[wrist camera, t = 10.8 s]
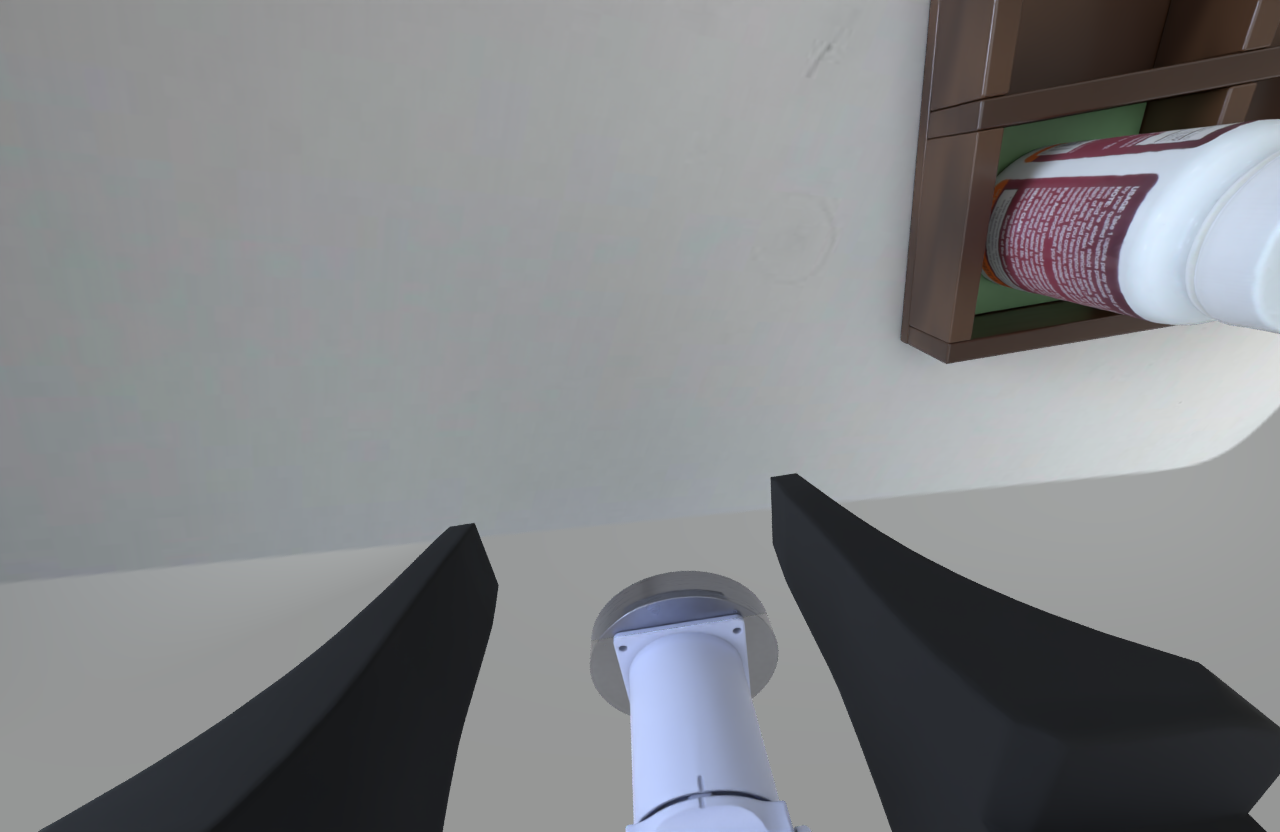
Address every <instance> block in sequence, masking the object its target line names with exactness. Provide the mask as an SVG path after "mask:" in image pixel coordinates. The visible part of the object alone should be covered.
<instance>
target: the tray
mask: <svg viewBox="0 0 1280 832" xmlns="http://www.w3.org/2000/svg"><path fill="white" fill-rule="evenodd" d="M1262 119H1280V0H931V4H930V15H929V27H928V38H927V49H926V60H925V71H924V83H923V94H922V105H921V116H920V128H919V139H918V150H917V161H916V173H915V184H914V195H913V206H912V218H911V229H910V240H909V251H908V263H907V274H906V285H905V296H904V308H903V319H902V330H901V341H903V342H904V343H906V344H909V345H911V346H913V347H915V348H917V349H919V350H920V351H922V352H924V353H926V354H928V355H930V356H932V357H934V358H936V359H938V360H940V361H942V362H943V363H946V364H949V363H955V362H961V361H967V360H973V359H979V358H985V357H990V356H996V355H1002V354H1008V353H1014V352H1020V351H1026V350H1032V349H1038V348H1044V347H1050V346H1056V345H1062V344H1068V343H1074V342H1080V341H1086V340H1092V339H1098V338H1104V337H1109V336H1115V335H1121V334H1127V333H1133V332H1139V331H1145V330H1151V329H1157V328H1163V327H1169V326H1175V325H1170V324H1161V323H1154V322H1149V321H1145V320H1141V319H1139V318H1134V317H1130V316H1128V315H1123V314H1119V313H1115V312H1111V311H1106V310H1102V309H1098V308H1094V307H1089V306H1085V305H1081V304H1077V303H1073V302H1069V301H1064V300H1060V299H1055V298H1052V297H1049V296H1044V295H1040V294H1036V293H1029V292H1025V291H1021V290H1017V289H1014V288H1009V287H1005V286H1001V285H998V284H996V283H993V282H992V281H990V280H988V279H987V278H985V277H984V276H983V275H982V274H981V272H982V265H983V259H984V253H985V246H986V240H987V234H988V227H989V221H990V215H991V208H992V202H993V196H994V189H995V183H996V177H997V176H998V175H999V174H1000V173H1001V172H1002V171H1003V170H1004V169H1005V168H1007V167H1008V166H1009V165H1010V164H1012V163H1013V162H1014V161H1016V160H1017V159H1019V158H1020V157H1022V156H1023V155H1025V154H1027V153H1029V152H1031V151H1033V150H1036V149H1039V148H1042V147H1045V146H1049V145H1054V144H1063V143H1070V142H1077V141H1087V140H1096V139H1105V138H1113V137H1121V136H1130V135H1138V134H1147V133H1156V132H1163V131H1172V130H1182V129H1191V128H1199V127H1208V126H1216V125H1224V124H1233V123H1241V122H1247V121H1251V120H1262Z"/></svg>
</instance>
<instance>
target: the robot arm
mask: <svg viewBox="0 0 1280 832" xmlns="http://www.w3.org/2000/svg"><path fill="white" fill-rule="evenodd" d="M771 504H772V532H773V533H772V535H773V546H774V549H775V551H776V554H777V557H778V560H779V563H780V566H781V569H782V571H783V574H784V577H785V579H786V582H787V584H788V586H789V588H790V590H791V593H792V594H793V597H794V599H795V601H796V602H797V605H798V607H799V609H800V611H801V613H802V615H803V617H804V619H805V621H806V623H807V625H808V627H809V629H810V631H811V633H812V635H813V637H814V639H815V641H816V643H817V645H818V647H819V649H820V651H821V653H822V655H823V657H824V659H825V661H826V663H827V665H828V666H829V669H830V671H831V673H832V675H833V678H834V680H835V682H836V684H837V686H838V689H839V691H840V694H841V696H842V699H843V701H844V704H845V706H846V709H847V711H848V714H849V717H850V719H851V722H852V724H853V727H854V729H855V732H856V735H857V737H858V740H859V742H860V745H861V748H862V750H863V753H864V756H865V759H866V761H867V764H868V767H869V769H870V772H871V775H872V777H873V780H874V783H875V785H876V788H877V791H878V793H879V796H880V799H881V802H882V805H883V807H884V810H885V813H886V816H887V819H888V822H889V824H890V827H891V830H892V832H1266V831H1265V830H1264V829H1263V828H1262V827H1261V826H1260V825H1259V824H1258V823H1257V822H1256V821H1255V820H1254V819H1253V818H1252V817H1251V816H1250V815H1249V814H1248V813H1249V811H1250V810H1251V809H1252V808H1253V806H1254V805H1255V804H1256V802H1258V800H1259V799H1260V798H1261V797H1262V795H1263V794H1264V793H1265V792H1266V790H1267V789H1268V788H1269V787H1270V786H1271V784H1272V783H1273V782H1274V781H1275V779H1276V778H1277V777H1278V776H1279V774H1280V727H1279V726H1278V725H1276V724H1275V723H1274V722H1273V721H1271V720H1270V719H1269V718H1268V717H1266V716H1265V715H1264V714H1263V713H1261V712H1260V711H1259V710H1258V709H1256V708H1255V707H1254V706H1253V705H1251V704H1250V703H1249V702H1248V701H1247V700H1245V699H1244V698H1243V697H1242V696H1240V695H1239V694H1238V693H1237V692H1235V691H1234V690H1233V689H1232V688H1230V687H1229V686H1228V685H1227V684H1225V683H1224V682H1223V681H1222V680H1220V679H1219V678H1218V677H1217V676H1215V675H1214V674H1213V673H1211V672H1210V671H1209V670H1208V669H1206V668H1205V667H1204V666H1203V665H1201V664H1200V663H1198V662H1195V661H1192V660H1189V659H1186V658H1182V657H1179V656H1176V655H1173V654H1170V653H1166V652H1163V651H1160V650H1157V649H1154V648H1150V647H1147V646H1144V645H1141V644H1137V643H1135V642H1131V641H1128V640H1125V639H1122V638H1119V637H1115V636H1112V635H1109V634H1106V633H1103V632H1100V631H1097V630H1094V629H1092V628H1089V627H1086V626H1083V625H1080V624H1078V623H1075V622H1072V621H1070V620H1067V619H1064V618H1061V617H1058V616H1056V615H1053V614H1050V613H1048V612H1045V611H1043V610H1040V609H1037V608H1035V607H1032V606H1030V605H1027V604H1025V603H1022V602H1020V601H1017V600H1015V599H1013V598H1010V597H1008V596H1006V595H1003V594H1001V593H999V592H996V591H994V590H992V589H989V588H987V587H985V586H982V585H980V584H978V583H976V582H974V581H972V580H969V579H967V578H965V577H963V576H961V575H959V574H957V573H955V572H953V571H951V570H949V569H947V568H945V567H943V566H941V565H939V564H937V563H935V562H933V561H931V560H929V559H927V558H925V557H923V556H922V555H920V554H918V553H916V552H914V551H912V550H911V549H909V548H907V547H905V546H903V545H902V544H900V543H899V542H897V541H895V540H894V539H892V538H890V537H889V536H887V535H885V534H883V533H882V532H880V531H878V530H877V529H876V528H874V527H872V526H871V525H869V524H868V523H866V522H865V521H863V520H862V519H860V518H858V517H857V516H856V515H854V514H853V513H851V512H850V511H848V510H847V509H845V508H844V507H842V506H841V505H839V504H838V503H837V502H835V501H834V500H832V499H831V498H830V497H828V496H827V495H825V494H824V493H823V492H821V491H820V490H819V489H817V488H816V487H814V486H813V485H812V484H810V483H809V482H808V481H806V480H805V479H803V478H802V477H801V476H799V475H798V474H796V473H795V474H789V475H782V476H776V477H771ZM497 592H498V583H497V580H496V578H495V575H494V572H493V570H492V567H491V564H490V562H489V559H488V557H487V554H486V552H485V549H484V546H483V544H482V541H481V539H480V536H479V533H478V531H477V528H476V525H475V523H471V524H465V525H458V526H452V527H449V528H448V529H447V530H446V531H445V532H443V533H442V534H441V535H440V536H439V537H438V538H437V539H436V540H435V541H434V542H433V543H432V544H431V545H430V546H429V547H428V548H427V549H426V550H425V551H424V552H423V553H422V554H421V555H420V556H419V557H418V558H417V559H416V560H415V561H414V562H413V563H412V564H411V565H410V566H409V567H408V568H407V569H406V570H405V571H404V572H403V573H402V574H401V575H400V576H399V577H398V578H397V579H396V580H395V581H394V582H393V583H391V584H390V585H389V586H388V587H387V588H386V589H385V590H384V591H383V592H382V593H381V594H380V595H379V596H378V597H377V598H376V599H375V600H373V601H372V602H371V603H370V604H369V605H368V606H367V607H366V608H365V609H364V610H362V611H361V612H360V613H359V614H358V615H357V616H356V617H355V618H354V619H353V620H352V621H350V622H349V623H348V624H347V625H346V626H345V627H344V628H343V629H342V630H340V631H339V632H338V633H337V634H336V635H335V636H334V637H332V638H331V639H330V640H329V641H327V642H326V643H325V644H324V645H323V646H321V647H320V648H319V649H318V650H316V651H315V652H314V653H313V654H311V655H310V656H309V657H308V658H306V659H305V660H304V661H303V662H301V663H300V664H299V665H298V666H296V667H295V668H294V669H293V670H291V671H290V672H289V673H287V674H286V675H285V676H283V677H282V678H281V679H279V680H278V681H276V682H275V683H274V684H272V685H271V686H270V687H268V688H267V689H265V690H264V691H262V692H261V693H260V694H258V695H257V696H256V697H254V698H253V699H251V700H250V701H249V702H247V703H246V704H245V705H243V706H242V707H240V708H239V709H237V710H236V711H235V712H233V713H232V714H230V715H229V716H227V717H226V718H225V719H223V720H222V721H220V722H219V723H217V724H216V725H214V726H213V727H211V728H210V729H208V730H207V731H205V732H204V733H202V734H200V735H199V736H198V737H196V738H194V739H193V740H191V741H190V742H188V743H187V744H185V745H183V746H182V747H180V748H179V749H177V750H176V751H174V752H172V753H171V754H169V755H168V756H166V757H164V758H163V759H161V760H160V761H158V762H157V763H155V764H153V765H152V766H150V767H148V768H147V769H145V770H143V771H142V772H140V773H138V774H137V775H135V776H134V777H132V778H130V779H128V780H127V781H125V782H123V783H121V784H120V785H118V786H116V787H115V788H113V789H111V790H110V791H108V792H106V793H104V794H103V795H101V796H99V797H97V798H96V799H94V800H92V801H90V802H89V803H87V804H85V805H84V806H82V807H80V808H78V809H77V810H75V811H73V812H72V813H70V814H68V815H66V816H65V817H63V818H61V819H60V820H58V821H56V822H54V823H52V824H50V825H49V826H47V827H45V828H43V829H41V830H40V831H39V832H443V826H444V820H445V814H446V808H447V803H448V797H449V791H450V786H451V781H452V776H453V771H454V766H455V761H456V756H457V750H458V745H459V741H460V738H461V734H462V730H463V726H464V722H465V718H466V715H467V712H468V707H469V705H470V701H471V698H472V695H473V691H474V688H475V684H476V680H477V677H478V674H479V670H480V667H481V664H482V661H483V657H484V654H485V650H486V647H487V643H488V640H489V636H490V632H491V629H492V625H493V619H494V613H495V607H496V600H497ZM614 647H615V651H616V655H617V658H618V662H619V665H620V669H621V673H622V676H623V680H624V684H625V687H626V691H627V695H628V698H629V702H630V716H631V746H632V776H633V777H632V779H633V808H634V809H633V810H634V824H632V825H627V826H626V832H812V831H811V830H810V828H809V827H808V826H806V825H802V826H797V827H795V828H794V830H793V826H792V823H791V819H790V816H789V812H788V809H787V805H786V802H785V801H779V797H778V793H777V790H776V786H775V782H774V779H773V775H772V771H771V768H770V764H769V760H768V757H767V753H766V749H765V746H764V742H763V739H762V735H761V731H760V727H759V724H758V720H757V716H756V712H755V709H754V705H753V702H752V698H751V690H750V679H749V667H748V656H747V645H746V634H745V623H744V620H743V617H742V616H741V615H738V614H734V615H727V616H721V617H715V618H708V619H702V620H696V621H689V622H683V623H676V624H670V625H664V626H657V627H651V628H645V629H638V630H632V631H625V632H620V633H617V634H616V635H614Z"/></svg>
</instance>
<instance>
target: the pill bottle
mask: <svg viewBox="0 0 1280 832" xmlns="http://www.w3.org/2000/svg"><path fill="white" fill-rule="evenodd" d="M981 274H982V275H983V276H984V277H985V278H987V279H988V280H990V281H992V282H993V283H996V284H998V285H1001V286H1005V287H1009V288H1014V289H1017V290H1021V291H1025V292H1029V293H1036V294H1040V295H1044V296H1049V297H1052V298H1055V299H1060V300H1064V301H1069V302H1073V303H1077V304H1081V305H1085V306H1089V307H1094V308H1098V309H1102V310H1106V311H1111V312H1115V313H1119V314H1123V315H1128V316H1130V317H1134V318H1139V319H1141V320H1145V321H1149V322H1154V323H1161V324H1170V325H1195V324H1202V323H1207V322H1212V321H1216V320H1217V321H1219V322H1222V323H1225V324H1228V325H1233V326H1239V327H1246V328H1252V329H1257V330H1263V331H1268V332H1273V333H1278V334H1280V119H1262V120H1251V121H1247V122H1241V123H1233V124H1224V125H1216V126H1208V127H1199V128H1191V129H1182V130H1172V131H1163V132H1156V133H1147V134H1138V135H1130V136H1121V137H1113V138H1105V139H1096V140H1087V141H1077V142H1070V143H1063V144H1054V145H1049V146H1045V147H1042V148H1039V149H1036V150H1033V151H1031V152H1029V153H1027V154H1025V155H1023V156H1022V157H1020V158H1019V159H1017V160H1016V161H1014V162H1013V163H1012V164H1010V165H1009V166H1008V167H1007V168H1005V169H1004V170H1003V171H1002V172H1001V173H1000V174H999V175H998V176H997V177H996V183H995V189H994V196H993V202H992V208H991V215H990V221H989V227H988V234H987V240H986V246H985V253H984V259H983V265H982V272H981Z"/></svg>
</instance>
